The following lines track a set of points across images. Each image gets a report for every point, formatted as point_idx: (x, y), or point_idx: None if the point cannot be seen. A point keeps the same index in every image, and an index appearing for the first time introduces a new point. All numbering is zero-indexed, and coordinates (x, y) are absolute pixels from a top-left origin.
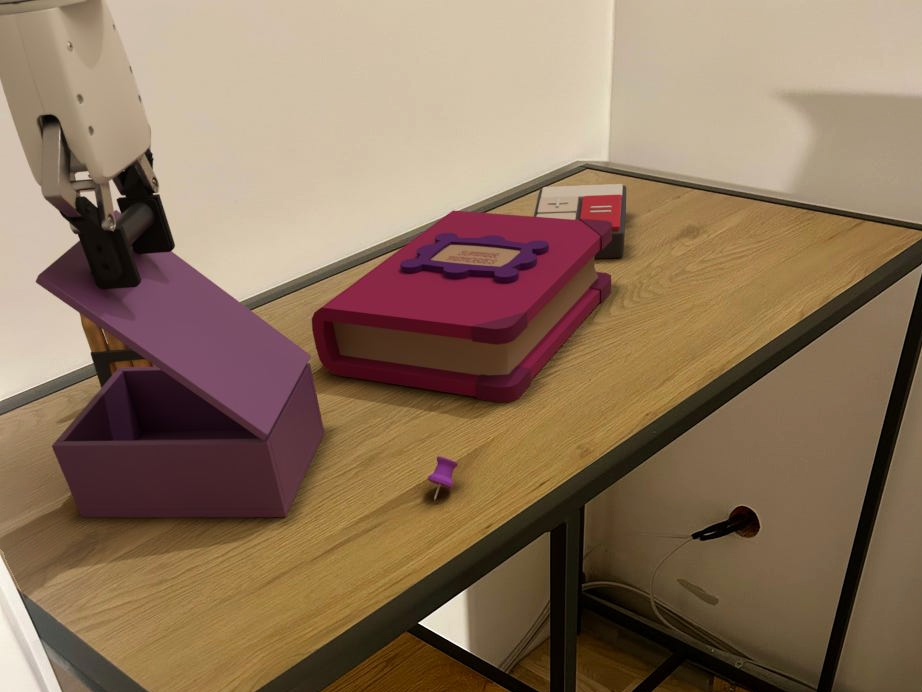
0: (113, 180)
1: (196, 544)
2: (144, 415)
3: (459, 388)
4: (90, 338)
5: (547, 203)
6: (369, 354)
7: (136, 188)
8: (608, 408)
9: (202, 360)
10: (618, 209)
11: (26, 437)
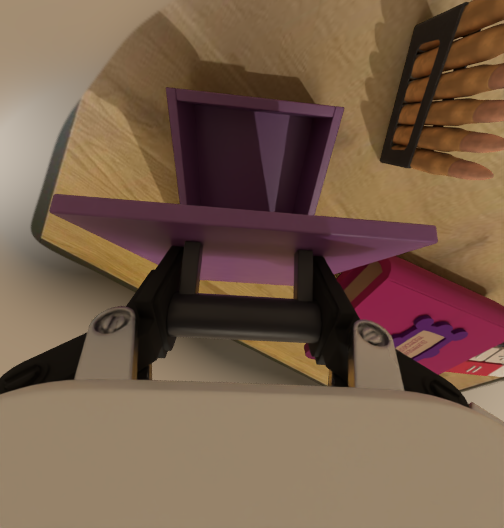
0: (352, 354)
1: (169, 202)
2: (316, 124)
3: None
4: (481, 4)
5: None
6: (361, 276)
7: (332, 360)
8: (282, 347)
9: (203, 272)
10: (466, 373)
11: None
